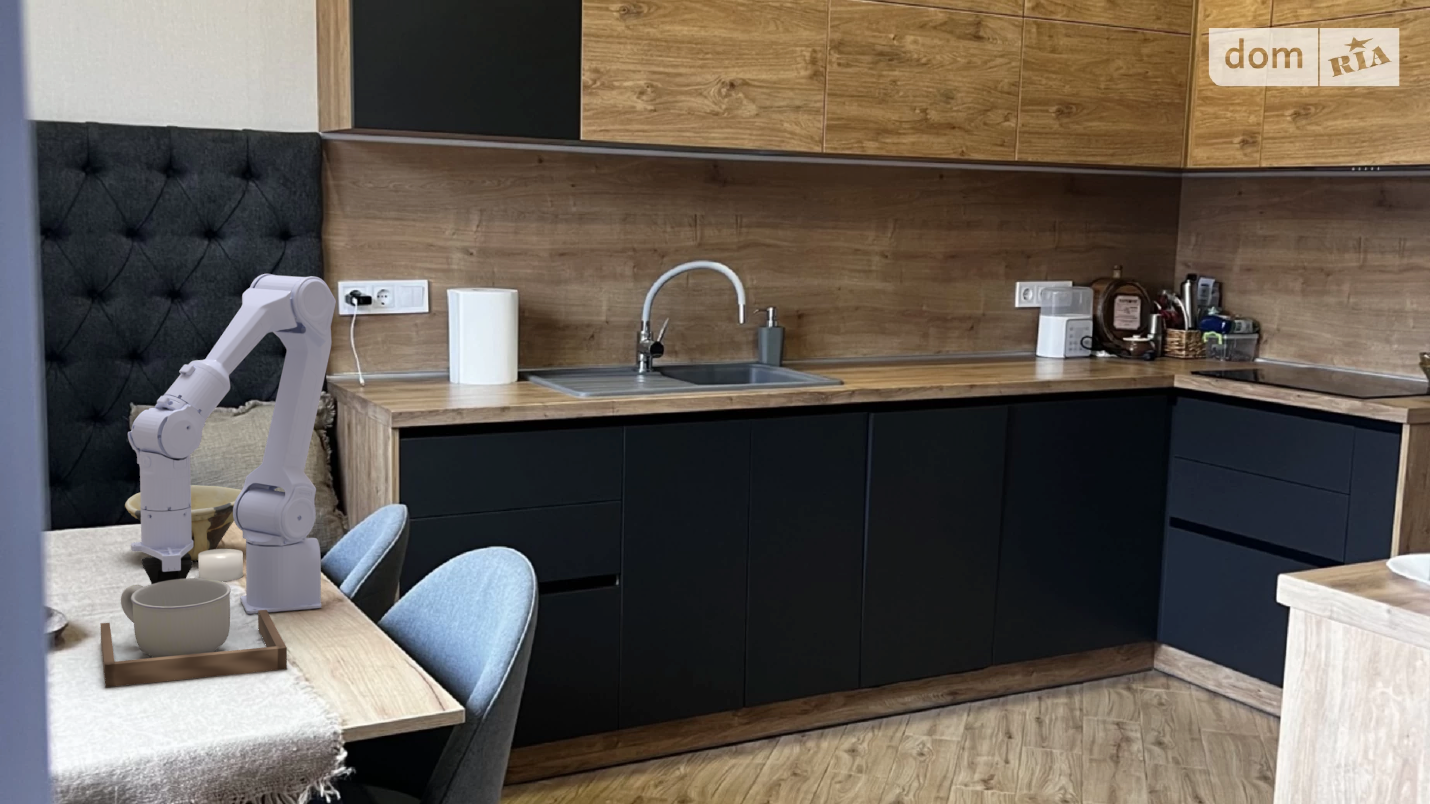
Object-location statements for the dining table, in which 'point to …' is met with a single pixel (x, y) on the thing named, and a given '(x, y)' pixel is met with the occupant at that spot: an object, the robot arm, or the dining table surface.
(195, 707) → the dining table surface
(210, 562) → the white frosted puck
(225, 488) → the bowl
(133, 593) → the teacup
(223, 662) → the corral
